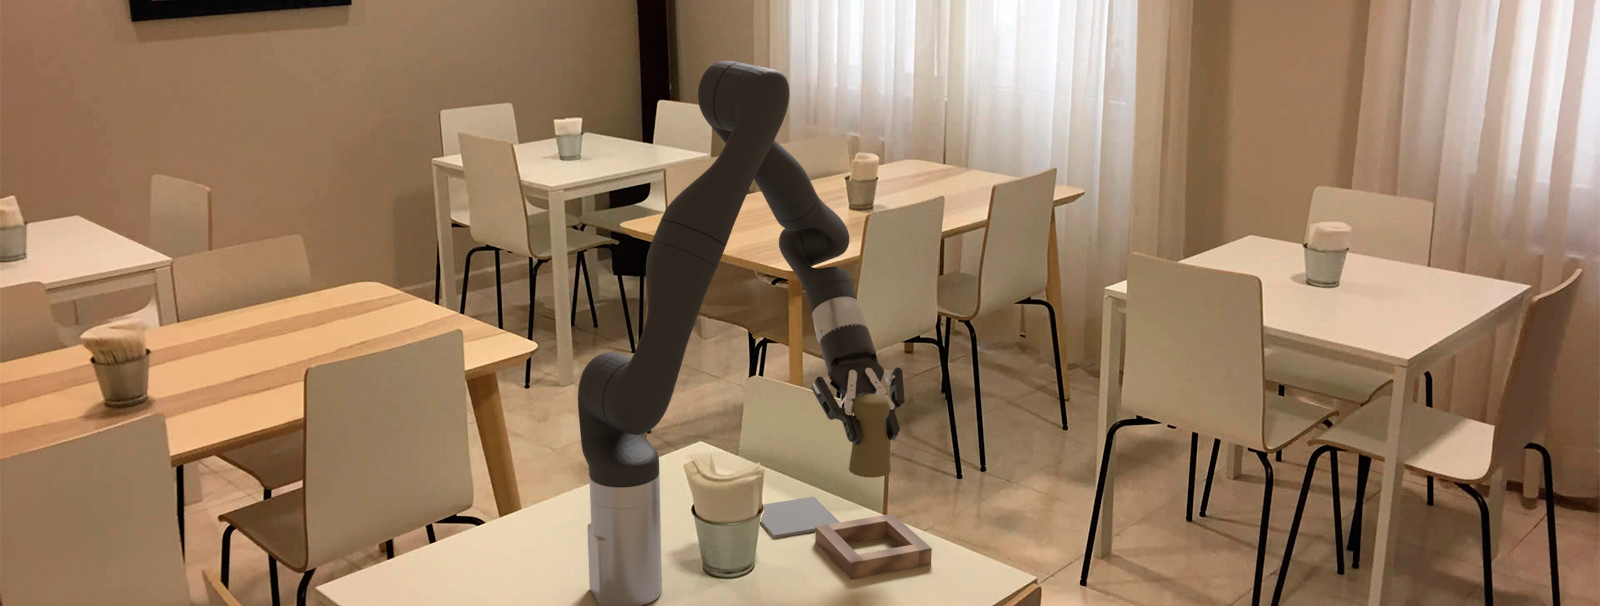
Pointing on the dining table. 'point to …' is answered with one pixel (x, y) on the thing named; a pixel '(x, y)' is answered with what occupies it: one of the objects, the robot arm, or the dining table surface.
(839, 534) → the walnut board
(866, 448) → the cork
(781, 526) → the slate mat
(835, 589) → the dining table surface
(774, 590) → the dining table surface
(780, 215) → the robot arm
